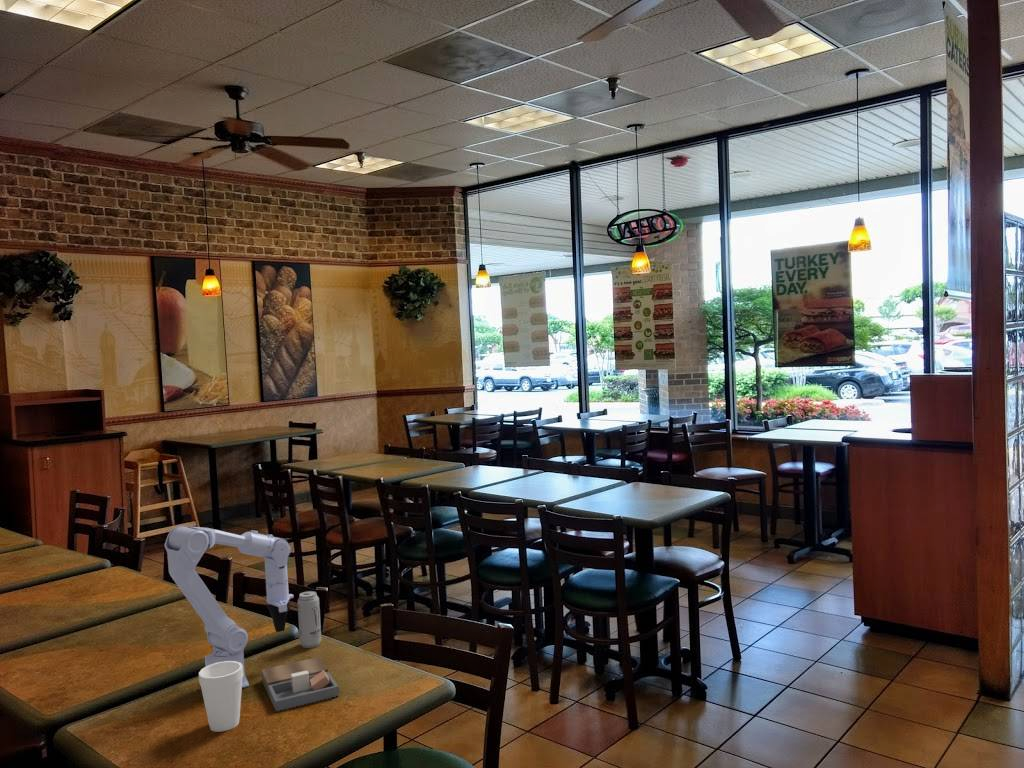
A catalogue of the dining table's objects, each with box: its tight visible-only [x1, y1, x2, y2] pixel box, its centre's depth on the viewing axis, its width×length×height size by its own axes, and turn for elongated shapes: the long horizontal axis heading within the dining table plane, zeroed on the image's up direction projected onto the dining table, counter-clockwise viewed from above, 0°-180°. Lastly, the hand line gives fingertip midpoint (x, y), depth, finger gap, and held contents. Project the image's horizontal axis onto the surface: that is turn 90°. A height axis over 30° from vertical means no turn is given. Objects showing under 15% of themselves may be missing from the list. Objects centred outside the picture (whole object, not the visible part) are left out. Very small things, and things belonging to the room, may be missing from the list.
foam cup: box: [198, 661, 243, 733], centre depth 176 cm, size 10×9×13 cm
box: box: [267, 671, 340, 712], centre depth 190 cm, size 15×10×2 cm
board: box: [261, 656, 329, 696], centre depth 199 cm, size 15×10×3 cm, turn 117°
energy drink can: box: [297, 590, 322, 649], centre depth 223 cm, size 6×6×15 cm
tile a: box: [291, 671, 310, 693], centre depth 192 cm, size 4×4×2 cm
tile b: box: [310, 670, 330, 690], centre depth 192 cm, size 4×4×2 cm
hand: (279, 630), depth 209 cm, fingers closed
